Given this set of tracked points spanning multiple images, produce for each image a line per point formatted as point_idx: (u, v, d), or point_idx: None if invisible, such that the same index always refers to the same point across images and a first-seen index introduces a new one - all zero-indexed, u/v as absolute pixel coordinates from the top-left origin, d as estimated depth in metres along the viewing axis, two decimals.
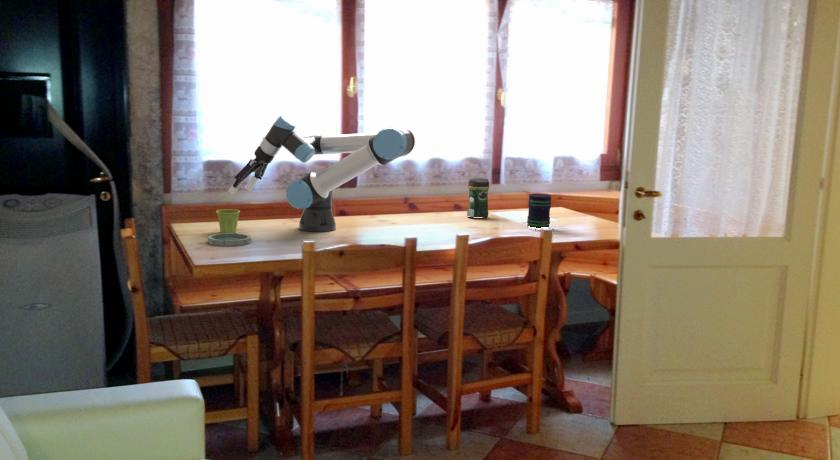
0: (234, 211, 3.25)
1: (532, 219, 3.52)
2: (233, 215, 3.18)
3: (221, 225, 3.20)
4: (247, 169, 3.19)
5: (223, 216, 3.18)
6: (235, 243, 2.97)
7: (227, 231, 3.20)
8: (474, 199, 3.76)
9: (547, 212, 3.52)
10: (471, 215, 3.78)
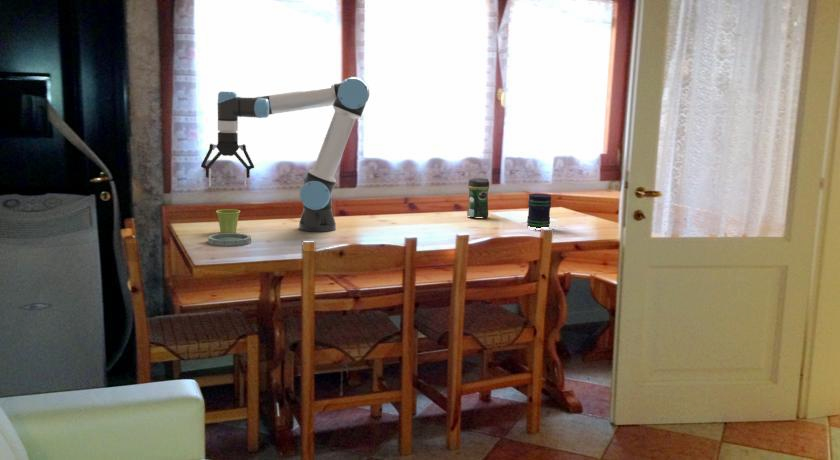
0: (234, 211, 3.25)
1: (532, 219, 3.52)
2: (233, 215, 3.18)
3: (221, 225, 3.20)
4: (207, 153, 3.15)
5: (223, 216, 3.18)
6: (235, 243, 2.97)
7: (227, 231, 3.20)
8: (474, 199, 3.76)
9: (547, 212, 3.52)
10: (471, 215, 3.78)
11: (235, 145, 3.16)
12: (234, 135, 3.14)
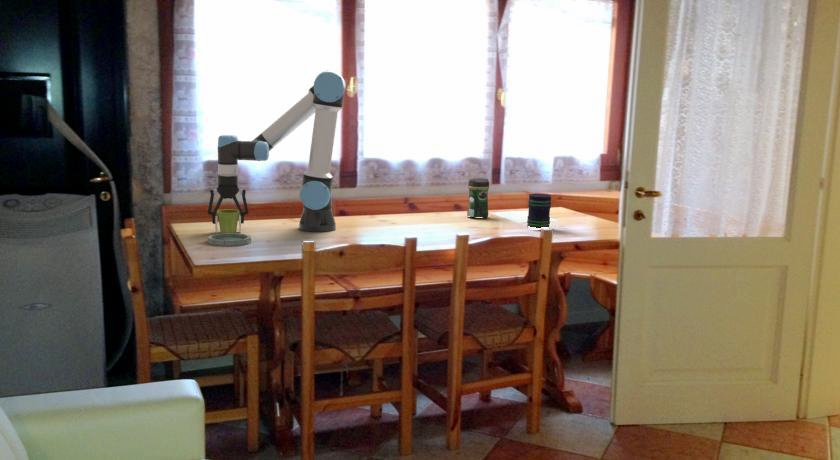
0: (234, 211, 3.25)
1: (532, 219, 3.52)
2: (233, 215, 3.18)
3: (221, 225, 3.20)
4: (210, 199, 3.18)
5: (223, 216, 3.18)
6: (235, 243, 2.97)
7: (227, 231, 3.20)
8: (474, 199, 3.76)
9: (547, 212, 3.52)
10: (471, 215, 3.78)
11: (235, 188, 3.19)
12: (234, 178, 3.17)
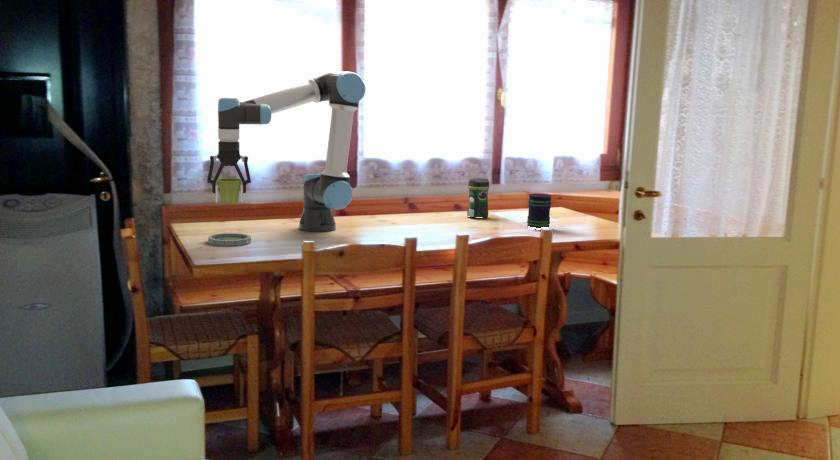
0: (236, 180, 3.04)
1: (532, 219, 3.52)
2: (234, 184, 2.97)
3: (222, 194, 2.98)
4: None
5: (224, 185, 2.96)
6: (235, 243, 2.97)
7: (228, 201, 2.98)
8: (474, 199, 3.76)
9: (547, 212, 3.52)
10: (471, 215, 3.78)
11: (237, 155, 2.98)
12: (236, 144, 2.96)
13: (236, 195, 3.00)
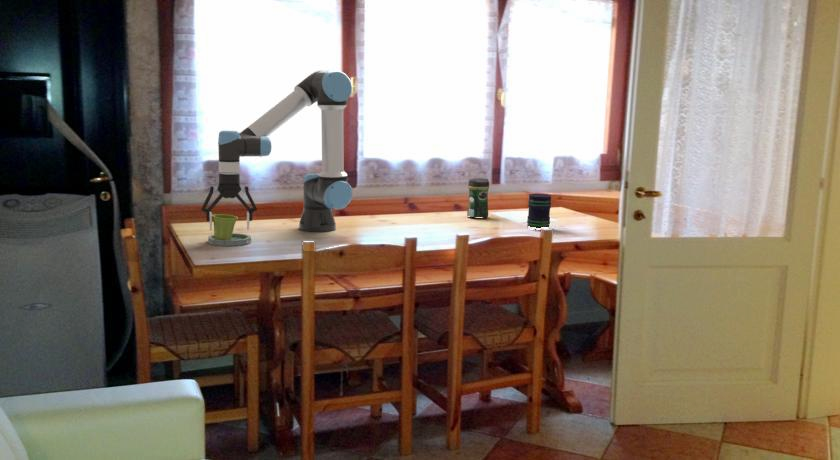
0: (231, 217, 3.06)
1: (532, 219, 3.52)
2: (230, 221, 2.99)
3: (216, 230, 3.00)
4: (207, 196, 2.99)
5: (219, 221, 2.98)
6: (235, 243, 2.97)
7: (221, 237, 3.00)
8: (474, 199, 3.76)
9: (547, 212, 3.52)
10: (471, 215, 3.78)
11: (237, 187, 3.00)
12: (236, 177, 2.98)
13: (230, 232, 3.01)
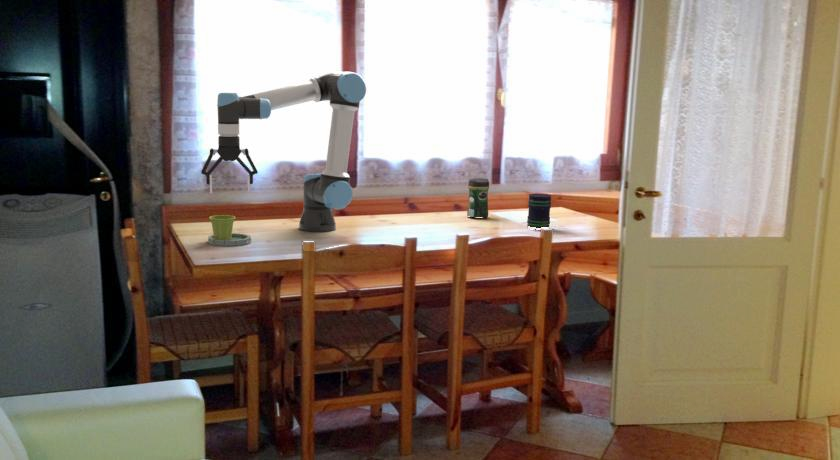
0: (229, 217, 3.06)
1: (532, 219, 3.52)
2: (227, 221, 2.99)
3: (215, 232, 3.00)
4: (207, 159, 2.96)
5: (217, 223, 2.98)
6: (235, 243, 2.97)
7: (221, 238, 3.00)
8: (474, 199, 3.76)
9: (547, 212, 3.52)
10: (471, 215, 3.78)
11: (237, 149, 2.98)
12: (236, 139, 2.95)
13: (229, 232, 3.01)
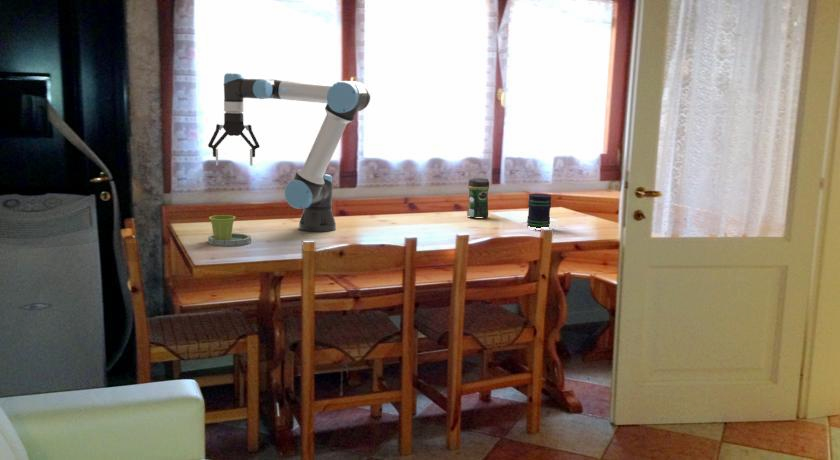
0: (229, 217, 3.06)
1: (532, 219, 3.52)
2: (227, 221, 2.99)
3: (215, 232, 3.00)
4: (214, 133, 3.25)
5: (217, 223, 2.98)
6: (235, 243, 2.97)
7: (221, 238, 3.00)
8: (474, 199, 3.76)
9: (547, 212, 3.52)
10: (471, 215, 3.78)
11: (241, 125, 3.27)
12: (240, 115, 3.25)
13: (229, 233, 3.01)
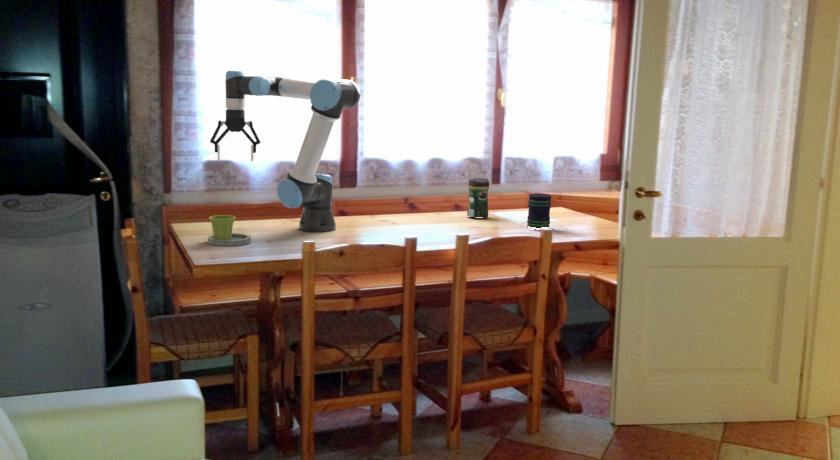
0: (229, 217, 3.06)
1: (532, 219, 3.52)
2: (228, 221, 2.99)
3: (215, 232, 3.00)
4: None
5: (217, 223, 2.98)
6: (235, 243, 2.97)
7: (221, 238, 3.00)
8: (474, 199, 3.76)
9: (547, 212, 3.52)
10: (471, 215, 3.78)
11: (242, 122, 3.35)
12: (241, 112, 3.32)
13: (229, 233, 3.01)
